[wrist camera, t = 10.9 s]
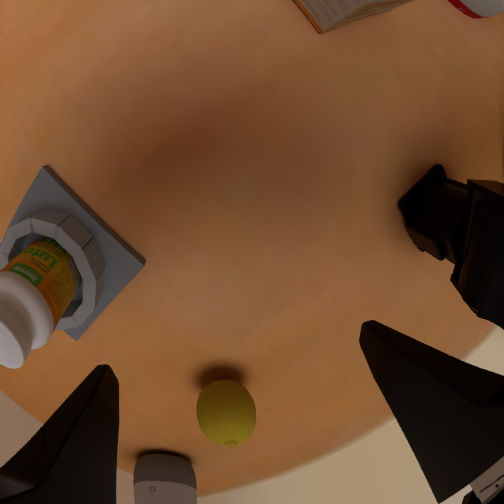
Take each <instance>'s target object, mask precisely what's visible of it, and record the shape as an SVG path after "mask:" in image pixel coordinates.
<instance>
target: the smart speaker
mask: <svg viewBox="0 0 504 504" xmlns="http://www.w3.org/2000/svg"><path fill="white" fill-rule="evenodd" d="M134 497H135V504H197V487H196V477H195V473H194V470H193V468H192V466H191V464H190V463H189V462H188V461H187V460H185V459H184V458H182V457H179V456H177V455H174V454H169V453H149V454H146V455H143V456H142V457H140V458H139V459H138V461H137V463H136V465H135V469H134Z"/></svg>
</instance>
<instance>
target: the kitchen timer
mask: <svg viewBox="0 0 504 504" xmlns="http://www.w3.org/2000/svg"><path fill="white" fill-rule="evenodd" d="M448 1H449V2H450V3H451V4H452V5H453V6H454V7H456V8H457V9H458V10H460V11H461V12H462V13H464V14H465V15H467V16H470V17H472V18H486V17H491V16H494V15H497V14H499V13H500V12H502V11H504V0H448Z"/></svg>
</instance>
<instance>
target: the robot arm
mask: <svg viewBox="0 0 504 504" xmlns="http://www.w3.org/2000/svg"><path fill="white" fill-rule="evenodd" d="M438 169H439V170H438ZM403 204H404V206H403ZM398 207H399V209H400V211H401V213H402V215H403V217H404V219H405V221H406V228H407V230H408V232H409V234H410V236H411V238H412V240H413V243H414V244H415V245H417V247H418V249H419V250H420V251H422V252H424V251H426V252H427V253H429V254H430V255H432V256H433V257H435V258H436V259H438V260H440V261H443V260H444V259H447V260H448V261H450V262H451V263H453V264H454V265H455V266H454V270H453V274H451V278H450V281H451V282H452V284H453V285H454V286H455V288H456V289H457V290H458V292H459V293H460V295H461V296H462V299H463V301H464V302H465V303H466V304H467V305H468V306H469V308H470V309H471V310H472V311H473V312H474V313H475V314H476V316H477V317H479V318H483V319H486V320H489V321H491V322H493V323H495V324H496V325H498V326H499V327H501V328H502V329H503V330H504V183H500V182H497V181H491V180H473V179H467V184H464V183H461V182H458V181H455V180H452V179H449V178H447V176H446V173H445V171H444V168H443V166H442V165H441V164H436V165H435V166H434V167H433V168H432V169H431V170H430V171H429V172H428V173H427V174H426V175H425V176H424V177H423V178H422V179H421V180H420V181H419V182H418V183H417V184H416V185H415V186H414V187H413V188H412V189H411V190H410V191H409V192H408V193H407V194H406V195H405V196H404V197H403V198H402V199H401V200H400V201H399V203H398ZM359 343H360V346H361V349H362V351H363V353H364V356H365V358H366V361H367V363H368V365H369V368H370V370H371V373H372V375H373V377H374V379H375V381H376V383H377V385H378V386H379V388H380V390H381V392H382V394H383V396H384V397H385V399H386V401H387V403H388V405H389V407H390V408H391V410H392V412H393V414H394V416H395V418H396V419H397V422H398V423H399V425H400V427H401V429H402V431H403V433H404V435H405V437H406V439H407V440H408V443H409V445H410V447H411V448H412V451H413V453H414V455H415V456H416V459H417V461H418V462H419V465H420V467H421V469H422V471H423V473H424V475H425V477H426V479H427V481H428V483H429V486H430V488H431V490H432V492H433V494H434V496H435V498H436V500H437V502H438V504H440V503H441V502H443V501H445V500H446V499H447V498H449V497H451V496H452V495H454V494H455V493H457V492H458V491H460V490H461V489H463V488H464V487H465V486H467V485H468V484H470V486H471V487H472V489H473V490H472V491H470V492H469V493H468V494H466V495H465V496H464V499H463V502H462V504H504V376H503V375H500V374H497V373H494V372H491V371H488V370H485V369H482V368H479V367H477V366H474V365H471V364H468V363H466V362H464V361H461V360H459V359H457V358H455V357H452V356H449V355H448V354H446V353H444V352H441V351H439V350H437V349H435V348H433V347H431V346H428V345H426V344H424V343H422V342H420V341H418V340H415V339H413V338H411V337H409V336H407V335H405V334H403V333H400V332H398V331H396V330H394V329H392V328H390V327H388V326H385V325H383V324H381V323H379V322H377V321H375V320H370V321H366V322H364V323H363V324H362V327H361V332H360V338H359ZM118 433H119V382H118V379H117V378H116V376H115V374H114V372H113V370H112V369H111V367H110V366H109V365H107V364H104V365H98V366H96V368H95V369H94V370H93V371H92V372H91V373H90V374H89V375H88V376H87V377H86V378H85V379H84V380H83V381H82V383H81V384H80V385H79V386H78V387H77V388H76V389H75V390H74V391H73V392H72V393H71V395H70V396H69V397H68V398H67V399H66V400H65V401H64V402H63V403H62V404H61V406H60V407H59V408H58V409H57V410H56V411H55V412H54V413H53V415H52V416H51V417H50V418H49V419H48V420H47V421H46V422H45V424H44V425H43V426H42V427H41V428H40V429H39V430H38V431H37V433H36V434H35V435H34V436H33V437H32V438H31V439H30V440H29V441H28V442H27V443H26V444H25V445H24V446H23V447H22V448H21V449H20V450H19V451H18V452H17V453H16V454H15V455H14V456H13V457H12V458H11V459H10V460H9V461H8V462H7V463H5V464H4V465H3V466H2V467H1V468H0V504H116V468H117V447H118Z"/></svg>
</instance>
